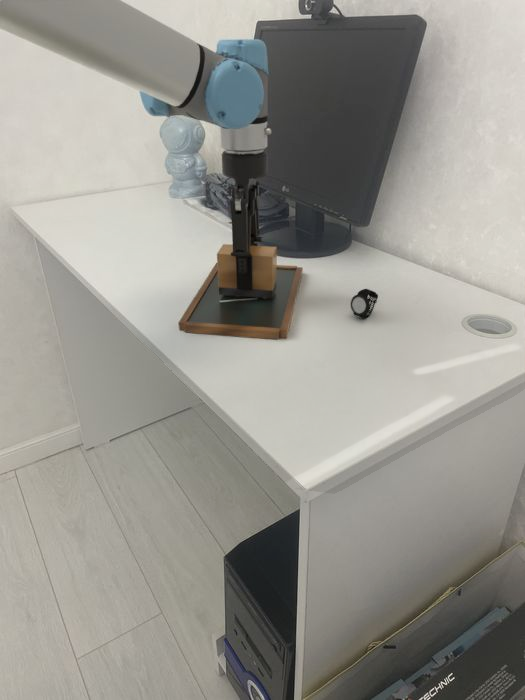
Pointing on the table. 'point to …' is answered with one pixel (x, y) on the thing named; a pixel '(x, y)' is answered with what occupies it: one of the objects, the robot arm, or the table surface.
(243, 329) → the slate board
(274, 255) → the eraser
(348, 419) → the table surface
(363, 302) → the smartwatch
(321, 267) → the table surface
